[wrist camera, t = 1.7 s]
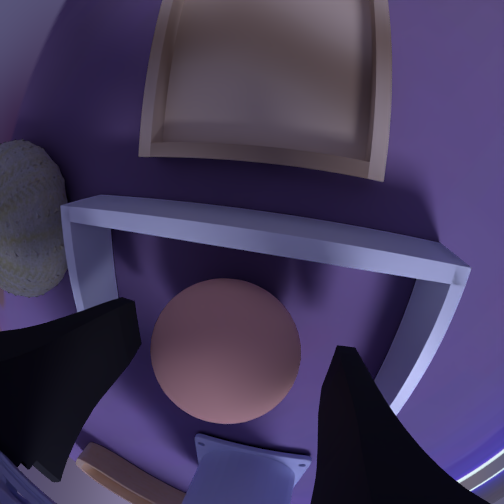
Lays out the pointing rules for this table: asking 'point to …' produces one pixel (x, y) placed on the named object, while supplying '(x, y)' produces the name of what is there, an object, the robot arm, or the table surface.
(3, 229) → the sea urchin shell
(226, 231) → the white u-shaped arch
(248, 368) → the ball
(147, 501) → the lamp
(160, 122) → the tray
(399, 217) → the table surface
